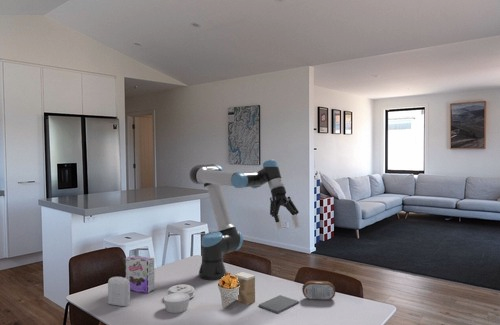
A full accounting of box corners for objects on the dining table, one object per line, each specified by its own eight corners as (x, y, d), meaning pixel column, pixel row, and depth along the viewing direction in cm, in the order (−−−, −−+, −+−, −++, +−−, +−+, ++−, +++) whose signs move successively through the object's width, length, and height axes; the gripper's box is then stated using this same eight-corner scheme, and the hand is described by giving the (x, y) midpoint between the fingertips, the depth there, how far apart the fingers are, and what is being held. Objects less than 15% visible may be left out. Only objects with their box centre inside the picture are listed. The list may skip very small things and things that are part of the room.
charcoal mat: (258, 306, 163) (258, 304, 163) (280, 296, 174) (280, 295, 174) (277, 313, 155) (277, 311, 155) (299, 303, 166) (299, 301, 166)
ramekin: (161, 306, 164) (161, 294, 164) (186, 302, 169) (186, 290, 169) (166, 316, 154) (166, 303, 154) (192, 311, 158) (192, 299, 158)
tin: (334, 298, 171) (334, 280, 171) (335, 301, 168) (335, 283, 168) (302, 297, 173) (302, 279, 172) (302, 300, 169) (302, 282, 169)
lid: (199, 296, 175) (199, 286, 175) (178, 305, 166) (178, 294, 166) (183, 290, 184) (183, 280, 184) (162, 297, 175) (161, 287, 174)
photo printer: (131, 303, 168) (131, 276, 167) (125, 307, 164) (125, 279, 163) (112, 301, 171) (112, 274, 171) (106, 304, 167) (106, 277, 166)
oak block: (235, 300, 170) (234, 274, 170) (242, 297, 174) (242, 271, 174) (247, 304, 165) (247, 278, 165) (255, 301, 168) (254, 275, 168)
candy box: (125, 290, 184) (124, 257, 184) (133, 286, 190) (132, 254, 190) (147, 293, 179) (147, 260, 179) (155, 289, 185) (154, 257, 184)
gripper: (266, 184, 179) (278, 226, 171) (297, 186, 197) (309, 224, 189) (255, 190, 183) (267, 231, 176) (286, 191, 201) (298, 229, 194)
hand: (289, 227), depth 183 cm, fingers open, 13 cm apart
